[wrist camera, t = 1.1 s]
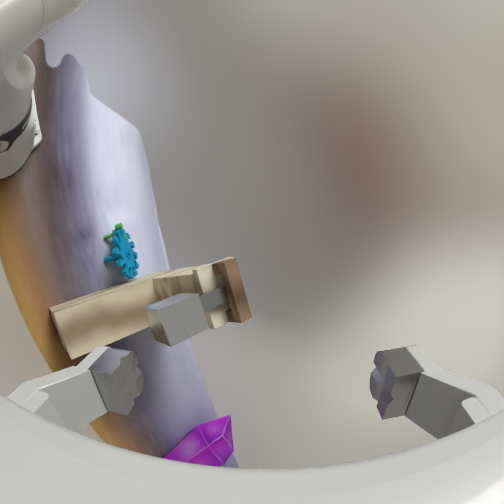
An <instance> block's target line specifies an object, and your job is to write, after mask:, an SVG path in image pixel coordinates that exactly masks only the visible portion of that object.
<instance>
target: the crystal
mask: <svg viewBox="0 0 504 504" xmlns="http://www.w3.org/2000/svg"><path fill="white" fill-rule="evenodd" d="M233 451H234V447H233V440H232V427H231V415H228V416H225V417H222V418H219V419H216V420H213V421H210V422H207V423H204V424H201V425H198V426H196V427H195V428H194V429H192V430H191V431H189V432H188V433H187V434H186V436H185V437H184V438H183V439H182V440H181V441H180V442H179V443H178V444H177V445H176V446H175V447H174V448H173V449H172V451H171V452H170V453H169V454H168V455H166V456H165V457H164V459H169V460H174V461H180V462H186V463H193V464H200V465H208V466H218V467H220V466H222V465H224V464H225V462H226V461H227V459H228V458H229V457H230V455H231V454H232V453H233Z"/></svg>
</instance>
